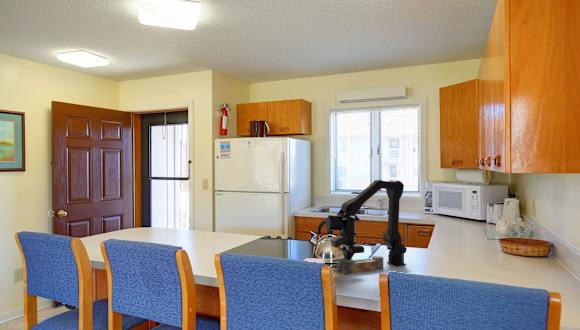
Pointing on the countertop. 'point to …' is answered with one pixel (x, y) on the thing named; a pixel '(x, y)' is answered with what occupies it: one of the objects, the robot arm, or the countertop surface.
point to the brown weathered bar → (339, 263)
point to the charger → (314, 260)
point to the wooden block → (363, 265)
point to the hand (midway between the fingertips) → (347, 264)
